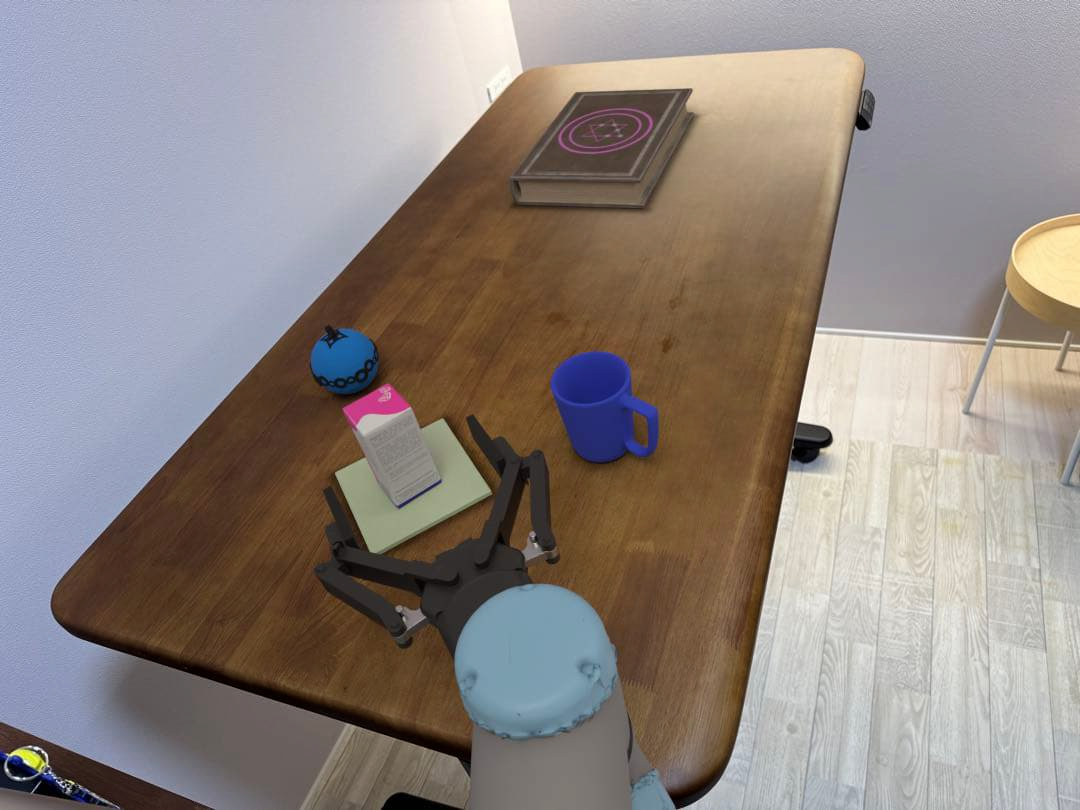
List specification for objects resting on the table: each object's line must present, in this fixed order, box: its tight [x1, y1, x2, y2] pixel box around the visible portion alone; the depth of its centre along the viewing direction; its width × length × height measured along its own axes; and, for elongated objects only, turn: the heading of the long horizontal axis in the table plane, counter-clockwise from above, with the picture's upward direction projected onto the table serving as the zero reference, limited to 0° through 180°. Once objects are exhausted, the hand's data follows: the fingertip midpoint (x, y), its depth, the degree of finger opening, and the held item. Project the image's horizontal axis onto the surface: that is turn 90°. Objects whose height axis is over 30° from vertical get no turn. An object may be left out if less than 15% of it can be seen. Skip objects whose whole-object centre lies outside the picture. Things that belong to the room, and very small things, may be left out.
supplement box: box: [342, 383, 442, 509], centre depth 83 cm, size 6×6×12 cm
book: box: [508, 87, 695, 209], centre depth 131 cm, size 30×22×5 cm
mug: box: [550, 350, 660, 464], centre depth 81 cm, size 8×12×10 cm
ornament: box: [309, 324, 380, 395], centre depth 98 cm, size 9×9×10 cm
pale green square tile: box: [334, 417, 493, 555], centre depth 87 cm, size 14×14×1 cm
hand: (404, 460), depth 68 cm, fingers open, 13 cm apart
